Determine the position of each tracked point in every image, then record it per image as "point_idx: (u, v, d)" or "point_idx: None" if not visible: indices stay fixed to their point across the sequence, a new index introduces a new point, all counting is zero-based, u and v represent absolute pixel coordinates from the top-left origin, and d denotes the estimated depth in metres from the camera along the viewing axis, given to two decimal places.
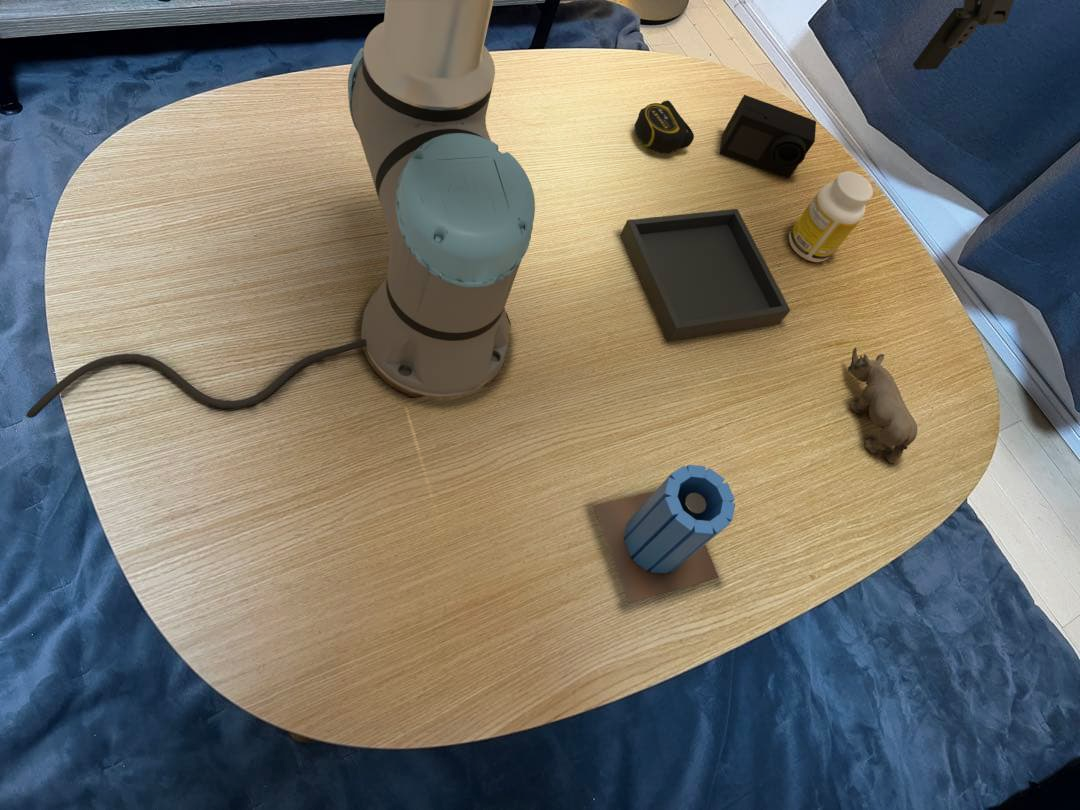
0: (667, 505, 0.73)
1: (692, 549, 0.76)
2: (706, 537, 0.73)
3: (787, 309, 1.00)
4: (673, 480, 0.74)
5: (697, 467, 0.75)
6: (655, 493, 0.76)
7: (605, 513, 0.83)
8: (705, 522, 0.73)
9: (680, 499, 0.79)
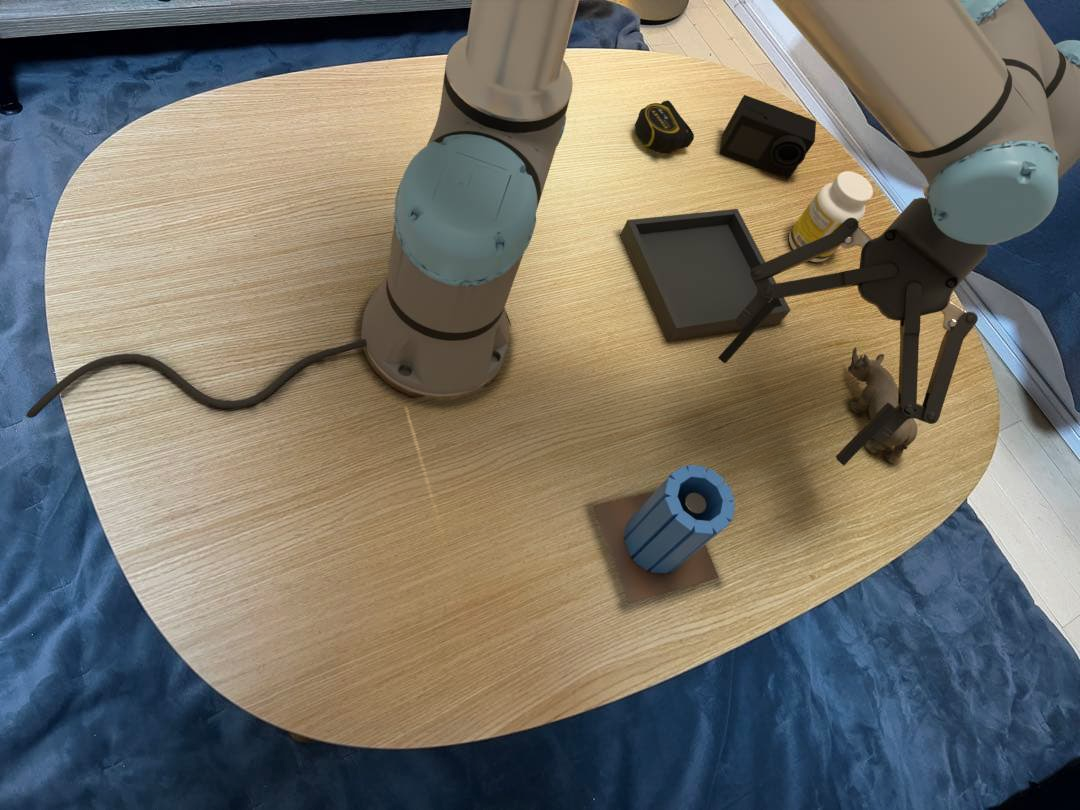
0: (667, 505, 0.73)
1: (692, 549, 0.76)
2: (706, 537, 0.73)
3: (787, 309, 1.00)
4: (673, 480, 0.74)
5: (697, 467, 0.75)
6: (655, 493, 0.76)
7: (605, 513, 0.83)
8: (705, 522, 0.73)
9: (680, 499, 0.79)
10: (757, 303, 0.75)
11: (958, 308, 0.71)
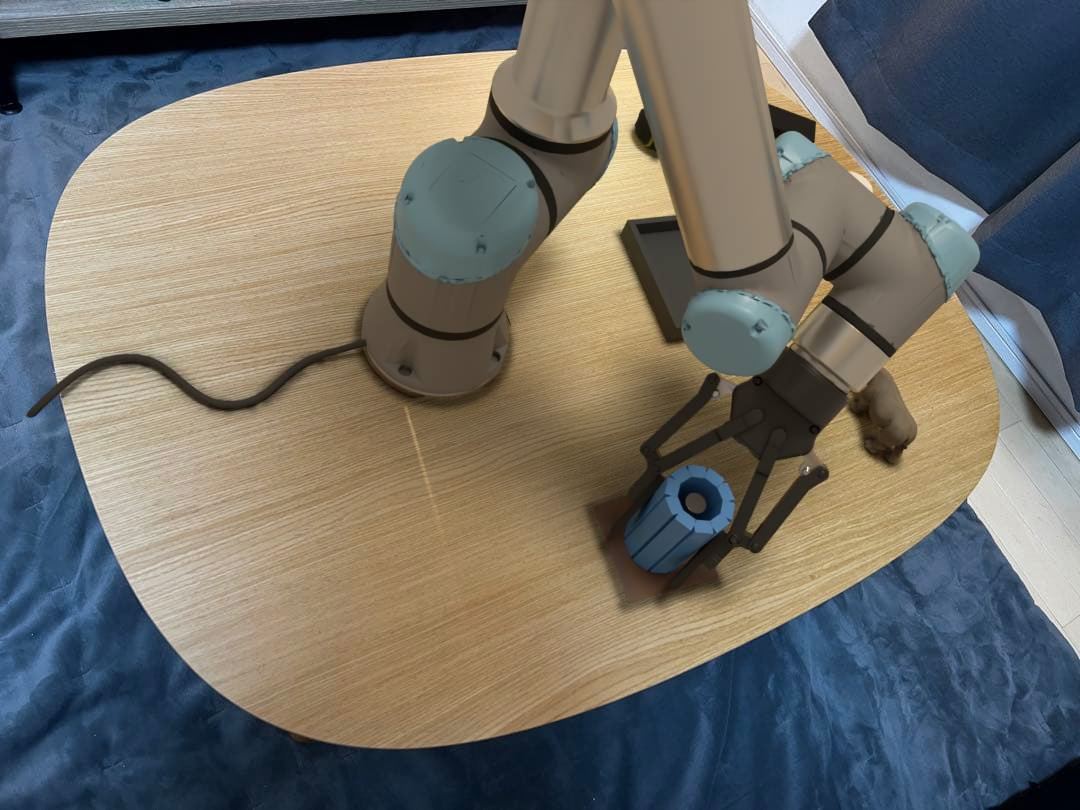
0: (667, 505, 0.73)
1: (692, 549, 0.76)
2: (706, 537, 0.73)
3: None
4: (673, 480, 0.74)
5: (697, 467, 0.75)
6: (655, 493, 0.76)
7: (605, 513, 0.83)
8: (705, 522, 0.73)
9: (680, 499, 0.79)
10: (647, 477, 0.77)
11: (817, 459, 0.73)
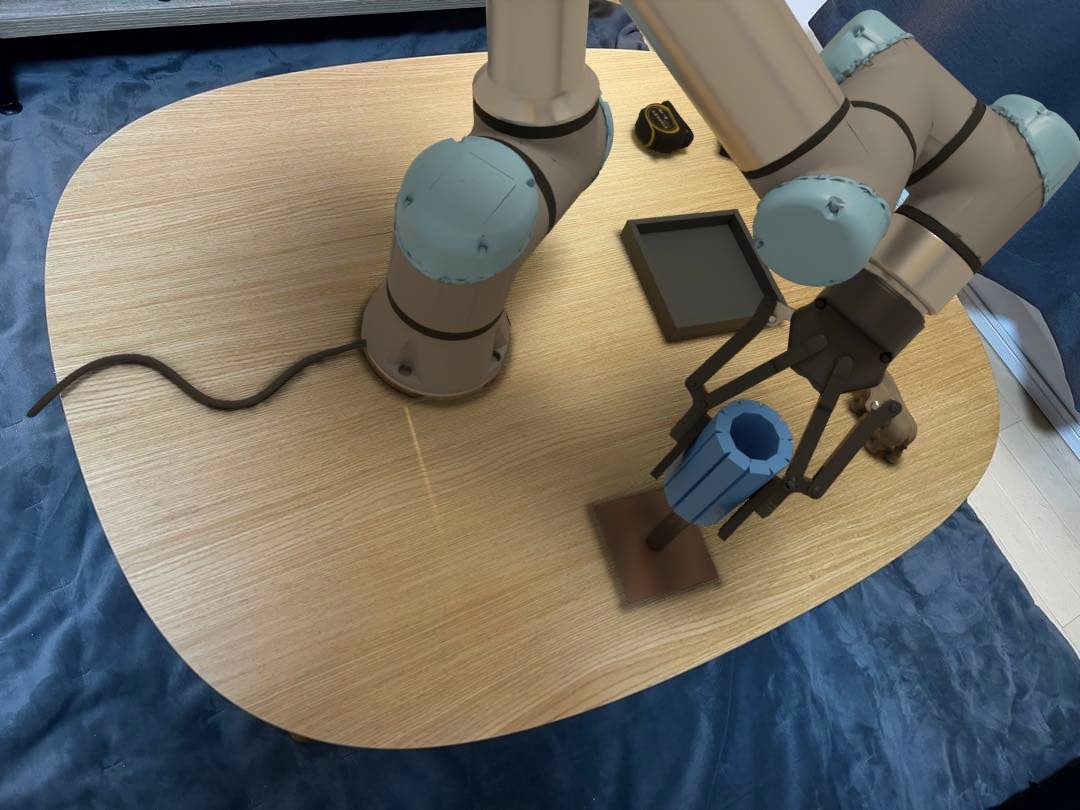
0: (718, 442, 0.64)
1: (744, 495, 0.67)
2: (762, 479, 0.64)
3: None
4: (724, 415, 0.65)
5: (750, 402, 0.67)
6: (702, 432, 0.68)
7: (605, 513, 0.83)
8: (761, 462, 0.64)
9: None
10: (693, 415, 0.69)
11: (887, 392, 0.65)
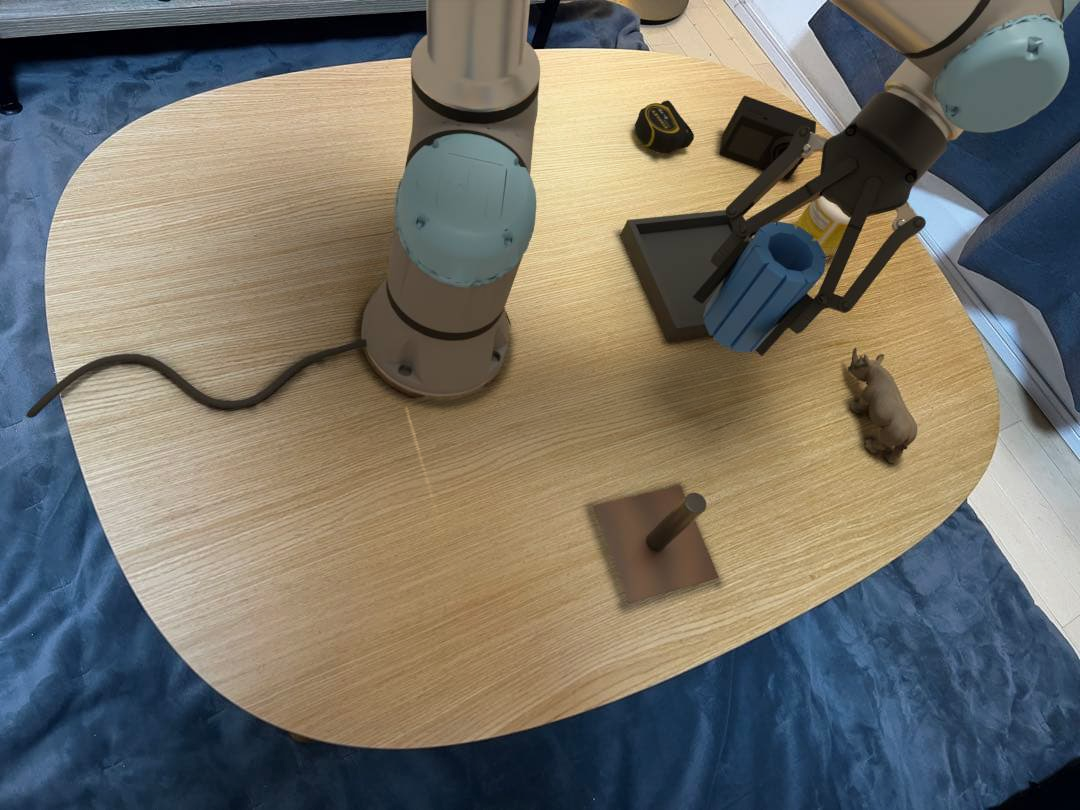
0: (757, 255, 0.71)
1: (780, 310, 0.73)
2: (797, 289, 0.71)
3: None
4: (762, 233, 0.72)
5: (786, 224, 0.73)
6: (741, 255, 0.74)
7: (605, 513, 0.83)
8: (797, 272, 0.70)
9: None
10: (732, 241, 0.75)
11: (912, 211, 0.71)
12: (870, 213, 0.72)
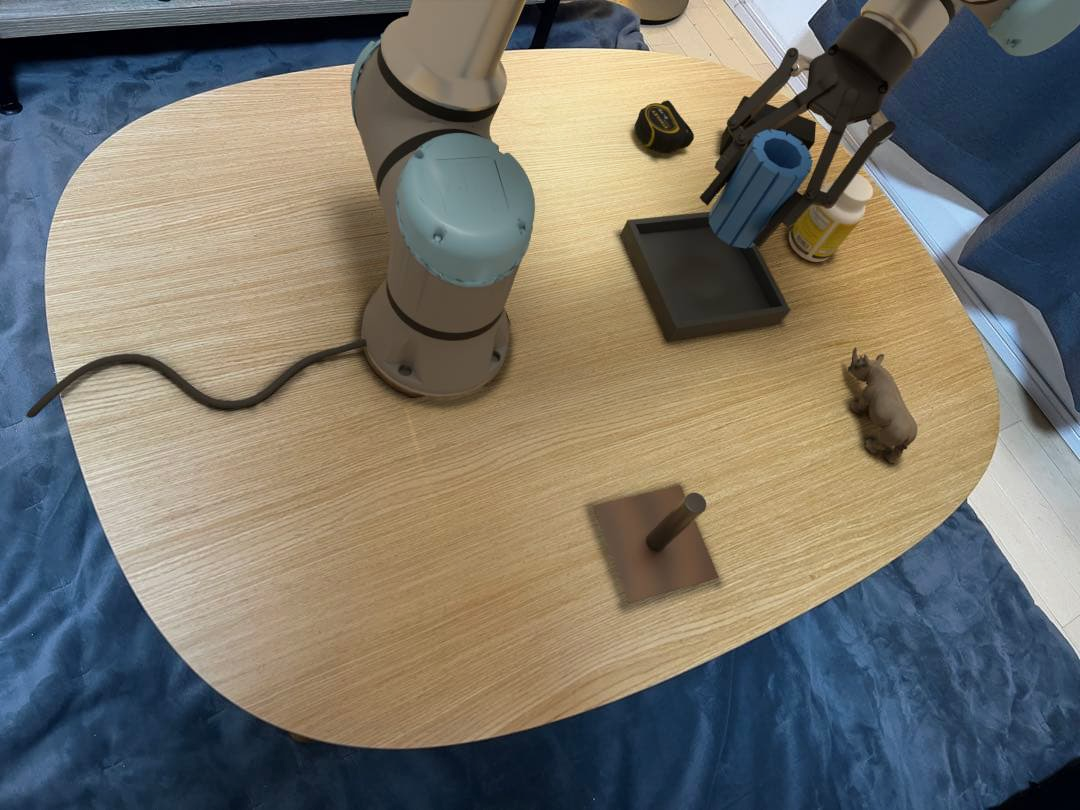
0: (755, 155, 0.84)
1: (774, 205, 0.87)
2: (788, 184, 0.84)
3: (787, 309, 1.00)
4: (759, 138, 0.85)
5: (778, 131, 0.86)
6: (741, 159, 0.87)
7: (605, 513, 0.83)
8: (788, 169, 0.84)
9: None
10: (733, 149, 0.88)
11: (884, 118, 0.84)
12: (849, 120, 0.85)
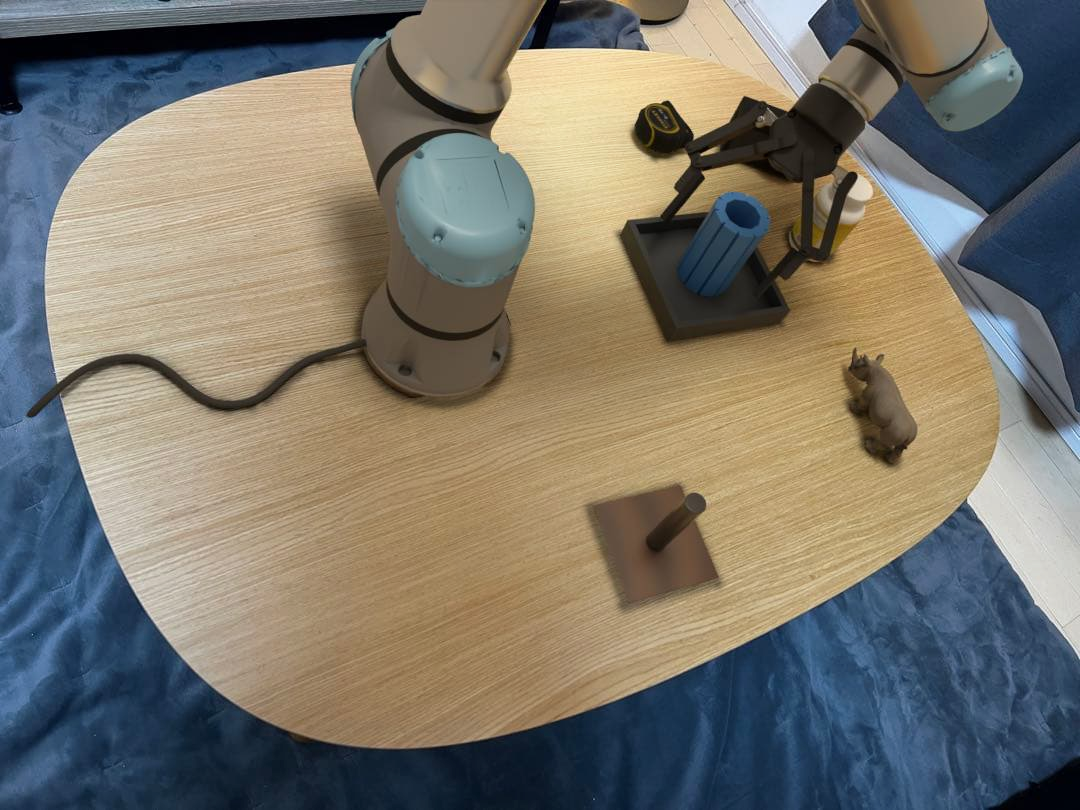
0: (717, 216, 0.92)
1: (735, 260, 0.94)
2: (748, 242, 0.92)
3: (787, 309, 1.00)
4: (721, 200, 0.93)
5: (739, 193, 0.94)
6: None
7: (605, 513, 0.83)
8: (747, 229, 0.91)
9: None
10: (690, 172, 0.95)
11: (844, 170, 0.91)
12: (815, 176, 0.92)
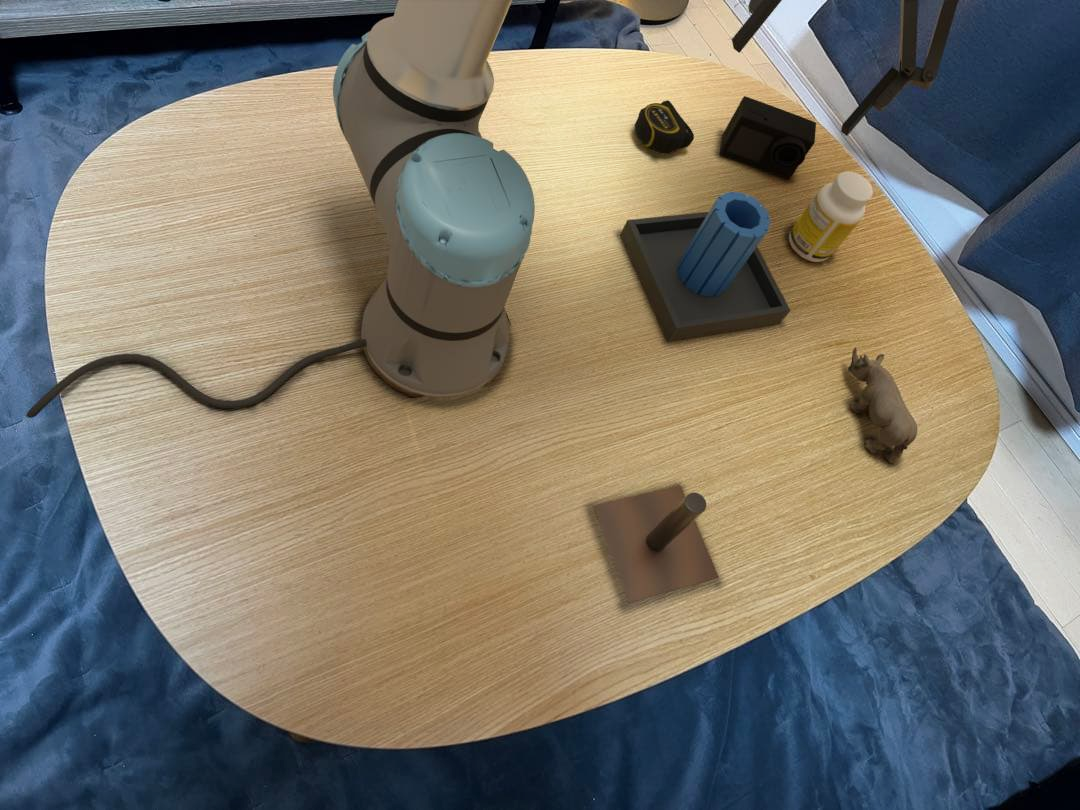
0: (717, 216, 0.92)
1: (735, 260, 0.94)
2: (748, 242, 0.92)
3: (787, 309, 1.00)
4: (721, 200, 0.93)
5: (739, 193, 0.94)
6: None
7: (605, 513, 0.83)
8: (747, 229, 0.91)
9: None
10: None
11: None
12: None
